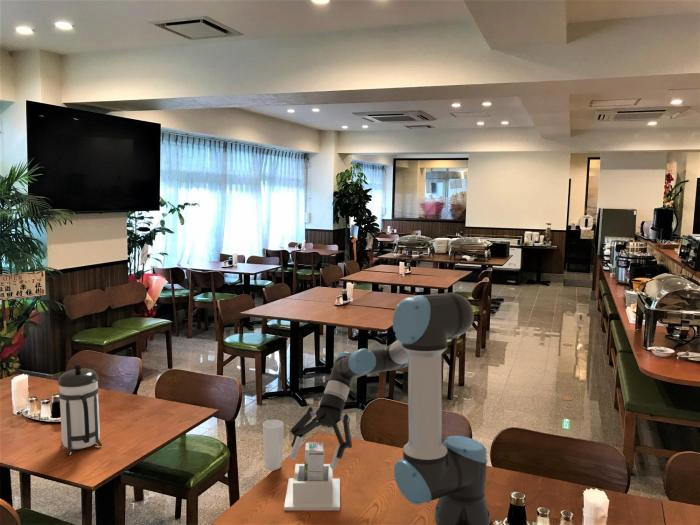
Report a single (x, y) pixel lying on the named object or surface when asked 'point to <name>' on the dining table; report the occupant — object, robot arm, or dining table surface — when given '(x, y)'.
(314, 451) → the syrup box
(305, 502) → the holder
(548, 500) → the dining table surface
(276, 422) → the drinking glass
